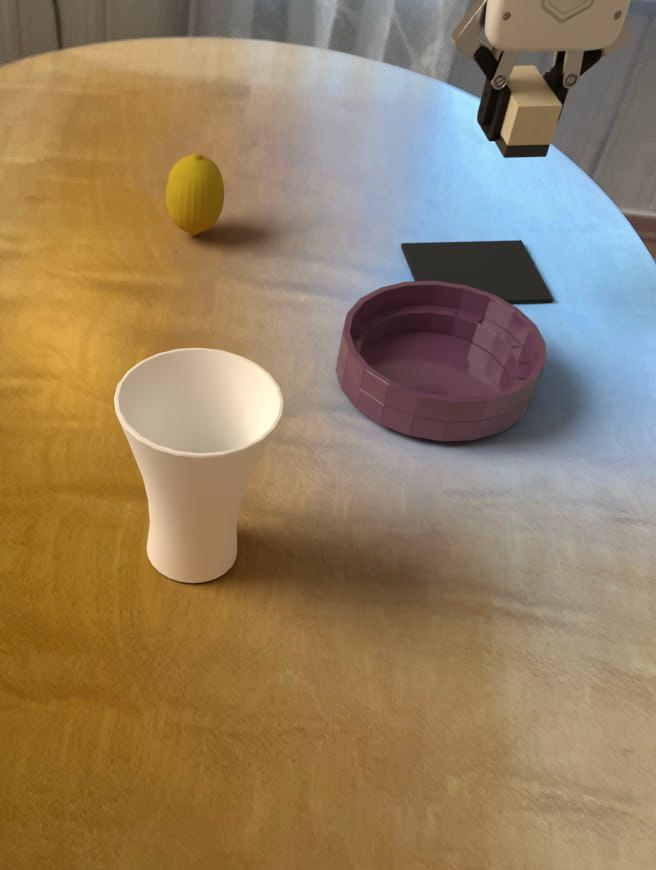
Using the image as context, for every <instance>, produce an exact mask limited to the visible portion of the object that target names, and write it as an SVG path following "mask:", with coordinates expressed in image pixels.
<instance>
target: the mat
mask: <svg viewBox="0 0 656 870" xmlns="http://www.w3.org/2000/svg"><path fill="white" fill-rule="evenodd" d="M400 248H401V251H402V254H403V256H404V258H405V261H406V264H407V266H408V268H409V270H410V273H411V276H412V278H413V281H440V282H447V283H454V284H461V285H465V286H469V287H472V288H475V289H479V290H482V291H485V292H488V293H491V294H493V295H496V296H497V297H499V298H501V299H503V300H505V301H506V302H508V303H510V304H512V305H517V304H519V305H520V304H545V303H546V304H550V303H553V301H554V297H553V296H552V293H551V292H550V290H549V288H548V287H547V285H546V283H545V281H544V279H543V277H542V275H541V274H540V271H539V270H538V267H537V266H536V264H535V262H534V260H533V259H532V257H531V255H530V254H529V253H530V252H528V249H527V248H526V246H525V244H524V242H523V240H521V239H520V240H519V239H518V240H517V239H516V240H514V239H513V240H512V239H511V240H480V241H479V240H478V241H477V240H475V241H437V242H436V241H435V242H433V241H431V242H401V244H400Z"/></svg>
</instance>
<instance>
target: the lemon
mask: <svg viewBox="0 0 656 870" xmlns="http://www.w3.org/2000/svg"><path fill="white" fill-rule="evenodd" d="M224 203H225V186H224V179H223V176H222V173H221V171H220V169H219V166H218V165H217V164H216V163H215V162H214V161H213V160H212V159H210V158H209V157H207V156H205V155H203V154H201V153H200V152H197V151H196V152H193V153H192V154H189V155H186V156H183V157H182V158H181V159H179V160H178V161H177V162H176V163H175V164H174V166H173V167H172V169H171V170H170V173H169V176H168V179H167V183H166V188H165V204H166V209H167V213H168V215H169V218H170V219H171V221H172V222H173V224H174V225H175V226H176V227H177V228H178V229H180V230H181V231H183V232H186V233H188V234H189V235H190V236H191V237H195V236H197V235H198V234H201V233H203V232H205V231H208V230H209V229H211V228H212V227H213V226H214V225H215V224H216V223H217V222H218V220H219V218H220V216H221V213H222V211H223V208H224Z"/></svg>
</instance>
